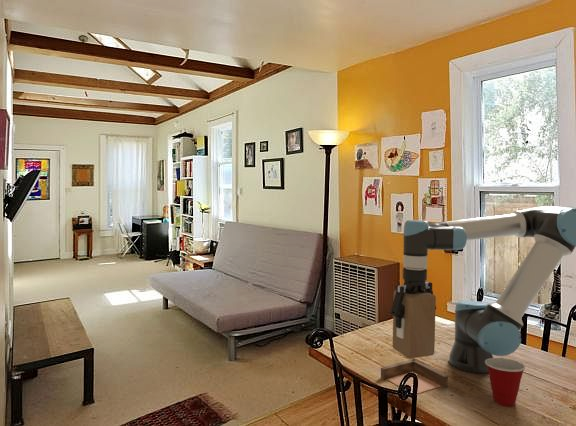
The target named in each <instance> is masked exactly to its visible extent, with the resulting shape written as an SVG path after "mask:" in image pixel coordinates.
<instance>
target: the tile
mask: <svg viewBox="0 0 576 426" xmlns="http://www.w3.org/2000/svg"><path fill="white" fill-rule="evenodd" d="M412 372H413V373H416V372H414V371H412ZM406 374H407V373H405V374H402V375H398V376H395V377H391V378H388V379H386V381H389V382H390V383H392V384H394V385H395V386H397V387H399V384H400V382H401V380H402V378H403V377H404V376H405V375H406ZM416 374H417V376H418V394H417V395H419V394H421V393H422V394H423V393H425V392H429V391H432V390H435V389H437V388H440V387H442V386H441V385H439V384H437V383H435V382H433V381H431V380H429V379H427V378H425V377H423V376H422V375H420V374H418V373H416ZM406 384H407V385H409V386H411V387H412V384H413V380H412V378H410V379H409V380H408V381H407V383H406Z"/></svg>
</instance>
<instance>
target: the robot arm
mask: <svg viewBox="0 0 576 426" xmlns="http://www.w3.org/2000/svg"><path fill="white" fill-rule="evenodd" d="M402 234H403V255H402V256H403V258H402V259H403V260H402V266H403V268H402V279H403V281H404V282H403V285H398V284H397V285H396V286H395V291H396V294H395V298H394V297H393V300H394V302H393V303H392V305H391V309H390V310H391V311H390V316H392V317H393V316H394V317H396V327H397V337H399V338H402V339H404V326H405V318H403V315H404V313H405V306H404V305H403V304H402V301H403V297H404V292H406V293H409V294H415V293H420V292H421V293H424V292H428V293H431V294H433V295H434V292H433V283H432V282H430V281H428V280H427V279H428V269H427V268H428V252H429V251H433V250H437V251H438V250H439V251H440V250H441V251H445V250H447V251H449V250H450V251H455V250H459V251H460V250H463V249H465V247H466V244H467V241H472V240H473V241H474V240H483V239H493V238H500V237H501V238H502V237H511V236H515V237H516V238H534V240H535V241H534V242H535V243H534V244H533V246H532V247H531V249H530V250H529V252H528V253H527V255H526V257H524V259H523V261H522V262H521V263H520V265H519V267H518V268H517V269H516V271H515V273H514V274H513V276H512V277H511V278H510V280H509V282H508V283H507V285H506V286H505V288H504V289H503V291H502V292H501V294H500V295H499V296H498V298H497V300H496V301H495V302H491V303H488V302H484V301H479V300H478V301H476V300H461V301H458V302H457V303H456V304H455V307H454V309H455V310H454V342H453V344H452V348H451V350H450V353H449V357H448V358H449V360H448V361H449V364H451V366H452V367H454V368H456V369H458V370H461V371H463V372H466V373H467V372H468V373H473V374H487V373H488V374H489V372H488V368H487V365H486V363H485V360H486V359H489V358H494V356H497V357H506V356H509V355H512V354H513V353H514V352H516V351H517V350H518V348H519V347H520V346H521V344H522V343H521V342H522V337H521V336H522V334H521V332H520V331H521V329H522V328H523V326H524V322H523V320H522V319H523V318H522V317H523V316H524V315H525V313H526V312H527V310H528V309H529V307H530V306H531V305H532V303H533V301H534V300H535V299H536V297H537V296H538V294H539V293H540V291H541V289H542V288H543V286H544V285H545V284H546V282H547V280H548V279H549V278H550V276H551V274H552V273H553V272H554V270H555V268H556V267H557V265H558V263H559V262H560V261H561V259H562V258H563V257H564V256H569V255H572V253H573V252H574V250H575V249H576V207H574V206H556V205H555V206H552V205H544V206H543V205H542V206H537V207H532V208H525V209H521V210H520V209H519V210H514V211H513V212H511V213H510V214H503V215H500V214H499V215H494V216H486V217H485V216H484V217H475V218H466V219H457V220H456V219H455V220H449V221H448V220H447V221H442V222H441V221H440V222H431V221H429V222H428V221H427V220H423V219H420V220H419V219H408V220H406V221H405V222H404V226H403V233H402ZM428 250H429V251H428ZM436 310H437V308H436V309H435V311H436ZM399 313H400V314H399Z"/></svg>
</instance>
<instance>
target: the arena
mask: <svg viewBox="0 0 576 426" xmlns="http://www.w3.org/2000/svg"><path fill="white" fill-rule="evenodd" d="M413 371H414V372H416V373H418V374H420V375H422V376H423V377H425V378H427V379H429V380H431V381H433V382H435V383H437V384H439V385H441V387H442V388H447V387H448V386H449V385H448V383H449V381H448V380H449V375H447V374H445V373H443V372H440V371H439V370H437V369H435V368H433V367H431V366H429V365H427V364H424V363H423V362H421V361H418V360H416V359H415V358H411V359H409V360H405V361H401V362H397V363H395V364H390V365H385V366H383V367H380V378H381V379H382V380H387V379H388V378H392V377H395V376H399V375H402V374H406V373H409V372H413Z"/></svg>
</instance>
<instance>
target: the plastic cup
mask: <svg viewBox="0 0 576 426" xmlns="http://www.w3.org/2000/svg"><path fill="white" fill-rule="evenodd" d="M485 363H486V365H487V368H488V372H489V373H488V375H489V376H488V377H489V381H490V388H491V392H492V398H493V401H494V403H496V404H498V405H500V406H503V405H504V407H513V405H514V406H516V402H517V397H518V394H519V389H520V386H521V385H520V384H521V381H522V378H523V373H524V371H526V365H525V364H523V362H520V361H518V360H514V359H510V358H503V357H493V358H489V359H486V360H485Z"/></svg>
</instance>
